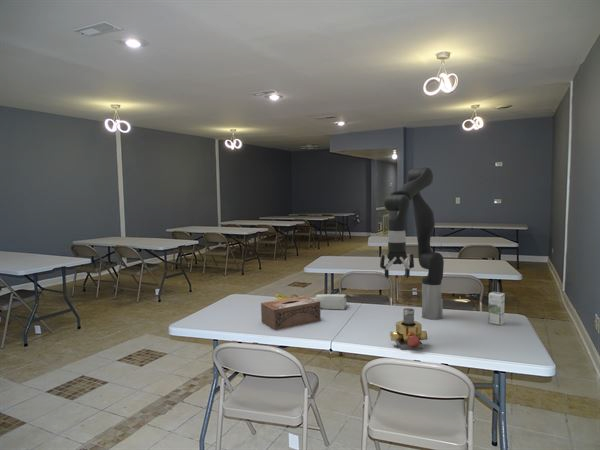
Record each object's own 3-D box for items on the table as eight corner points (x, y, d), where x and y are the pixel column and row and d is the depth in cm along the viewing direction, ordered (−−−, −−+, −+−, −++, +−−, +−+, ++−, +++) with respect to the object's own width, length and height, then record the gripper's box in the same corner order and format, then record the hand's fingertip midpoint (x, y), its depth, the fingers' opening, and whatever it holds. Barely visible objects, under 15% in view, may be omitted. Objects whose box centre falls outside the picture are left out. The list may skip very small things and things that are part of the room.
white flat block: (310, 293, 251) (304, 293, 226) (347, 294, 247) (346, 294, 223) (309, 307, 249) (304, 308, 225) (347, 307, 246) (346, 309, 222)
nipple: (412, 329, 172) (412, 308, 171) (415, 332, 167) (415, 311, 167) (402, 329, 172) (402, 308, 171) (405, 332, 167) (405, 311, 167)
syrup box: (504, 322, 196) (505, 292, 195) (500, 325, 192) (501, 295, 190) (492, 320, 200) (492, 291, 199) (487, 323, 195) (488, 293, 194)
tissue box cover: (274, 330, 193) (274, 309, 192) (261, 322, 205) (261, 303, 204) (320, 321, 206) (320, 301, 205) (305, 314, 218) (305, 295, 217)
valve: (422, 340, 175) (422, 319, 174) (431, 351, 163) (431, 329, 162) (388, 341, 175) (388, 320, 174) (395, 352, 163) (395, 330, 162)
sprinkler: (295, 312, 221) (311, 301, 239) (294, 300, 221) (310, 291, 239) (261, 311, 232) (278, 301, 249) (259, 299, 231) (277, 291, 249)
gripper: (410, 239, 181) (410, 275, 183) (378, 240, 181) (378, 276, 183) (415, 241, 174) (415, 279, 175) (382, 242, 174) (382, 280, 175)
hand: (397, 277), depth 179 cm, fingers open, 8 cm apart
